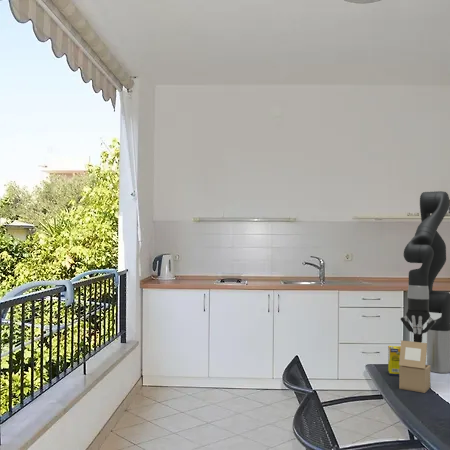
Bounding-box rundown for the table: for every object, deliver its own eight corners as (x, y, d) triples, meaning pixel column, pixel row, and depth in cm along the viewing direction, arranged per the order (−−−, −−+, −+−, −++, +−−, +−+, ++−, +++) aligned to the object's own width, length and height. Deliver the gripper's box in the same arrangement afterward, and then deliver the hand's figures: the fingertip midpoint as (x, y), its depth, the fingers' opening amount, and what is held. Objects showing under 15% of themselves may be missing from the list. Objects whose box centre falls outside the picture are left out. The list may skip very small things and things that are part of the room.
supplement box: (405, 376, 208) (405, 349, 209) (389, 375, 210) (389, 348, 210) (403, 373, 214) (403, 346, 215) (387, 372, 215) (388, 345, 216)
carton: (405, 383, 198) (405, 362, 198) (430, 387, 193) (430, 365, 193) (399, 388, 190) (399, 366, 191) (425, 392, 186) (425, 370, 186)
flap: (401, 340, 194) (401, 340, 193) (427, 343, 189) (426, 343, 188) (399, 365, 191) (398, 364, 190) (425, 368, 186) (424, 368, 185)
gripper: (438, 298, 197) (438, 344, 196) (402, 295, 204) (402, 340, 203) (434, 299, 190) (434, 347, 190) (397, 296, 197) (397, 343, 197)
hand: (417, 343), depth 196 cm, fingers closed
